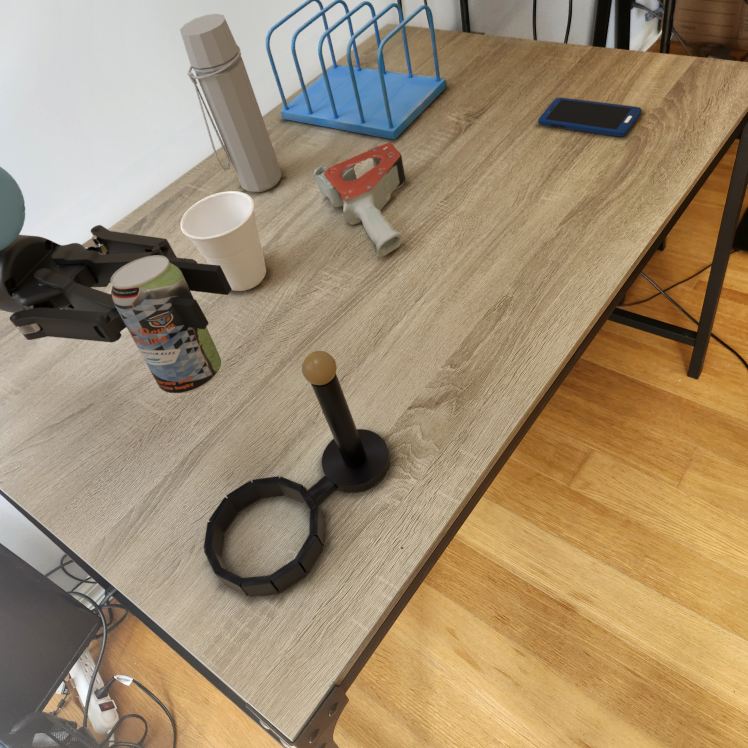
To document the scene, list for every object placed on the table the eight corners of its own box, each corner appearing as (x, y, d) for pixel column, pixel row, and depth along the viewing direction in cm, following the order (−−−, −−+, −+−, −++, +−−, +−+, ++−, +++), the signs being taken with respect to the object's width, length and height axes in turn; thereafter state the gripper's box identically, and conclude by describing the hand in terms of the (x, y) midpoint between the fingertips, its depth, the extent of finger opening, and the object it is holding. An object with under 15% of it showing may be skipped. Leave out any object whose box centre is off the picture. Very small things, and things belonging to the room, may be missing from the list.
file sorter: (282, 120, 119) (254, 34, 107) (336, 74, 127) (316, -11, 115) (395, 141, 107) (378, 46, 95) (447, 88, 115) (437, -5, 103)
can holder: (192, 568, 63) (105, 479, 51) (299, 412, 73) (249, 305, 61) (301, 624, 58) (234, 539, 45) (401, 446, 68) (369, 337, 55)
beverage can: (154, 395, 60) (73, 298, 52) (205, 341, 64) (136, 242, 56) (197, 410, 57) (117, 309, 49) (248, 352, 60) (181, 248, 52)
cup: (256, 245, 96) (229, 181, 87) (293, 273, 90) (268, 207, 81) (200, 281, 93) (167, 219, 84) (234, 313, 87) (202, 249, 78)
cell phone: (624, 137, 95) (625, 133, 94) (536, 124, 102) (536, 120, 101) (643, 112, 98) (643, 107, 98) (556, 100, 105) (556, 96, 104)
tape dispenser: (395, 270, 88) (445, 177, 98) (389, 241, 84) (442, 146, 94) (285, 249, 95) (342, 163, 104) (274, 221, 90) (335, 134, 100)
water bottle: (271, 163, 110) (216, 7, 91) (292, 181, 105) (238, 20, 86) (223, 187, 108) (157, 33, 89) (242, 207, 103) (176, 48, 84)
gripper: (82, 248, 70) (269, 265, 61) (-22, 362, 61) (181, 401, 52) (42, 189, 64) (241, 199, 56) (-79, 305, 55) (137, 338, 47)
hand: (211, 297), depth 54 cm, fingers closed on beverage can, 3 cm apart
